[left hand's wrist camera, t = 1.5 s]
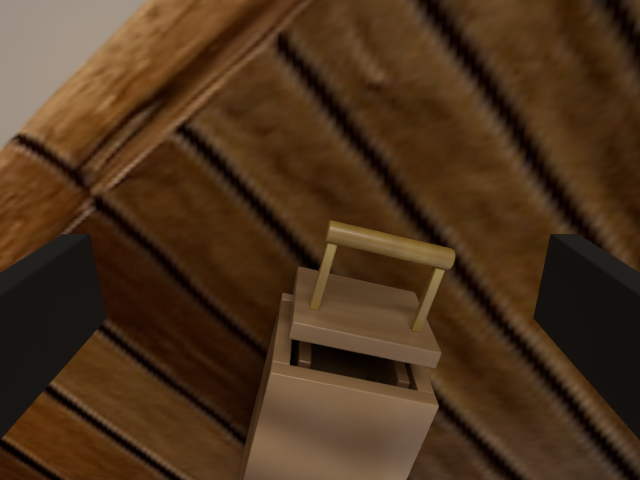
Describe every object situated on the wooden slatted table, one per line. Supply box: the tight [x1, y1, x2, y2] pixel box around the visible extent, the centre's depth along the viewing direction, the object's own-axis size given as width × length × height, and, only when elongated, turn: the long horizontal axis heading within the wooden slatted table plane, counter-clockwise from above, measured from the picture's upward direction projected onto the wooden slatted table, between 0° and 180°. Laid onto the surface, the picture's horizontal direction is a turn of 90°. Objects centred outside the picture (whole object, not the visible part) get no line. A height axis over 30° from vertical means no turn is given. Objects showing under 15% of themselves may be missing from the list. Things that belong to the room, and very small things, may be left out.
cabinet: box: [237, 293, 439, 480], centre depth 33 cm, size 19×10×10 cm, turn 166°
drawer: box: [289, 220, 455, 389], centre depth 31 cm, size 23×9×8 cm, turn 166°
